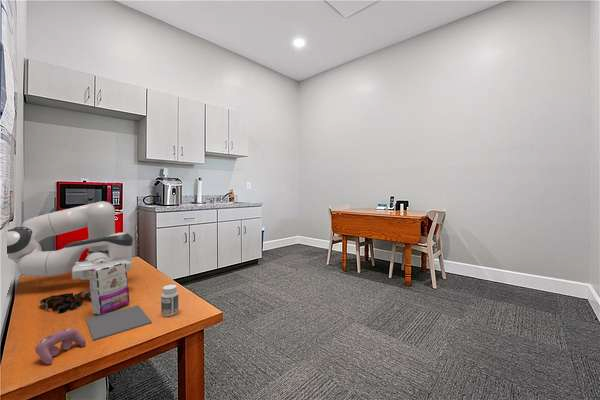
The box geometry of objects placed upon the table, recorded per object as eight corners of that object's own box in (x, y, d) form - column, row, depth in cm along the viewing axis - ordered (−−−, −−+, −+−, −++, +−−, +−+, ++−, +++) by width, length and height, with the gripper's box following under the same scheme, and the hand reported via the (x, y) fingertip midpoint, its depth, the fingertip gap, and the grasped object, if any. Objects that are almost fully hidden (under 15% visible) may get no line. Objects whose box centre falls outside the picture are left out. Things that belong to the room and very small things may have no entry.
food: (51, 318, 94) (51, 308, 93) (35, 306, 104) (35, 297, 104) (120, 298, 112) (120, 289, 112) (101, 289, 122) (101, 281, 122)
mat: (85, 319, 92) (85, 318, 92) (138, 306, 103) (138, 305, 103) (93, 340, 79) (93, 339, 79) (151, 322, 91) (151, 321, 91)
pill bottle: (173, 308, 102) (173, 283, 102) (181, 312, 99) (181, 286, 98) (158, 313, 98) (158, 287, 97) (165, 318, 94) (165, 290, 94)
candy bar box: (121, 302, 106) (117, 262, 107) (130, 303, 105) (126, 262, 105) (91, 314, 96) (87, 269, 96) (100, 315, 94) (96, 269, 94)
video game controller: (78, 348, 78) (70, 325, 79) (88, 343, 77) (80, 321, 78) (37, 369, 69) (29, 344, 69) (48, 365, 68) (39, 339, 68)
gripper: (127, 268, 124) (135, 275, 114) (70, 277, 110) (73, 286, 100) (127, 255, 124) (135, 261, 114) (70, 262, 110) (73, 270, 100)
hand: (106, 273), depth 107 cm, fingers closed
